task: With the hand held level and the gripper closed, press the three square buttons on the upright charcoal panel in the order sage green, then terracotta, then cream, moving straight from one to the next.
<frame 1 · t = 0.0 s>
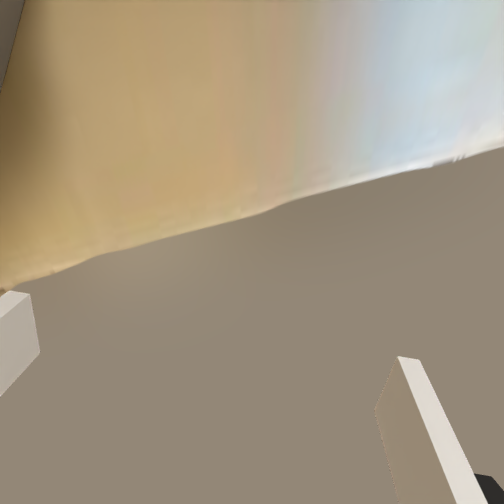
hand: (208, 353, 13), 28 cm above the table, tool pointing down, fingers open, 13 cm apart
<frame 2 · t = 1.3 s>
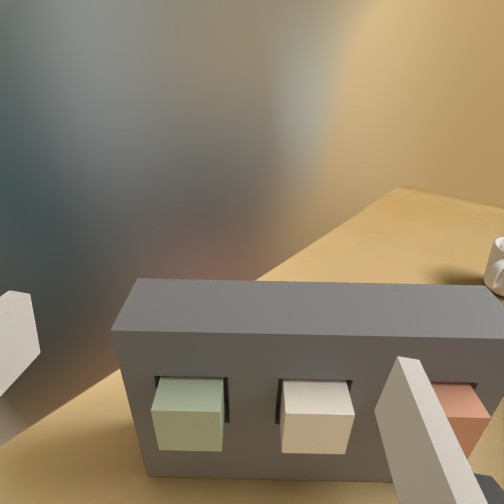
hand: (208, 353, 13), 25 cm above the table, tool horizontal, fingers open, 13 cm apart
terracotta button: (429, 403, 27), point 11 cm above the table, slide at 0.0 cm
cream button: (311, 400, 27), point 11 cm above the table, slide at 0.0 cm
cup: (498, 292, 58), on the table
button panel: (297, 458, 34), on the table
sage green button: (194, 397, 27), point 11 cm above the table, slide at 0.0 cm
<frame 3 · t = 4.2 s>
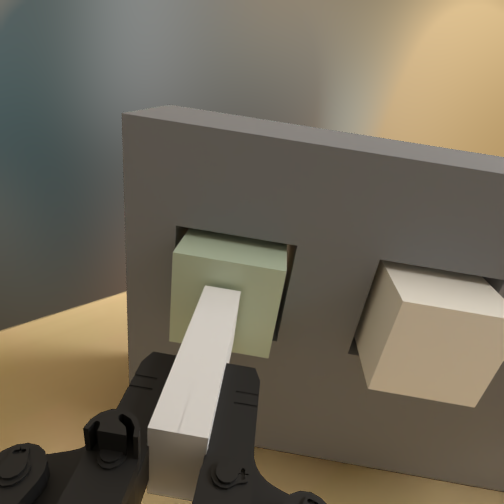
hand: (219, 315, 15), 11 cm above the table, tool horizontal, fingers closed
cream button: (418, 316, 16), point 11 cm above the table, slide at 0.0 cm
button panel: (351, 435, 23), on the table
sage green button: (232, 276, 17), point 11 cm above the table, slide at 0.8 cm, touching gripper
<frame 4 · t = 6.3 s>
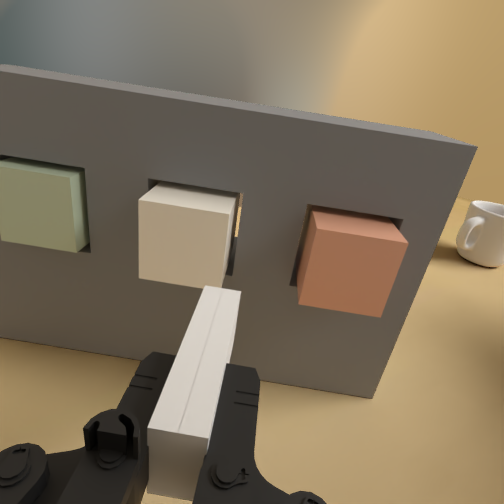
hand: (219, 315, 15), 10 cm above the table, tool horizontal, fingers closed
terracotta button: (342, 252, 21), point 11 cm above the table, slide at 0.0 cm
cream button: (193, 228, 21), point 11 cm above the table, slide at 0.0 cm
cup: (471, 261, 52), on the table
button panel: (189, 348, 27), on the table
sage green button: (61, 196, 22), point 11 cm above the table, slide at 1.6 cm
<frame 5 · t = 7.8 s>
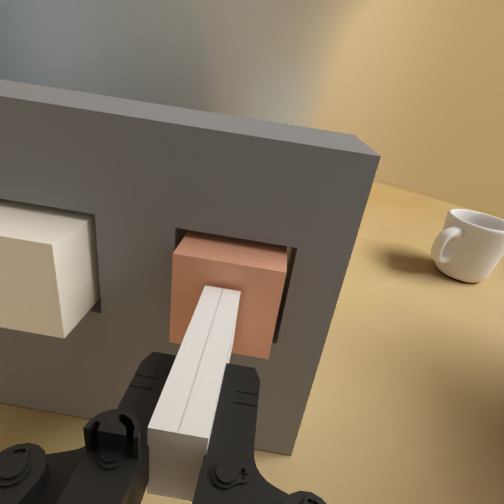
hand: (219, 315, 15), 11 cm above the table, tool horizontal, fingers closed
terracotta button: (232, 277, 17), point 11 cm above the table, slide at 0.9 cm, touching gripper
cream button: (46, 255, 17), point 11 cm above the table, slide at 0.0 cm
cup: (450, 275, 47), on the table
button panel: (83, 389, 23), on the table
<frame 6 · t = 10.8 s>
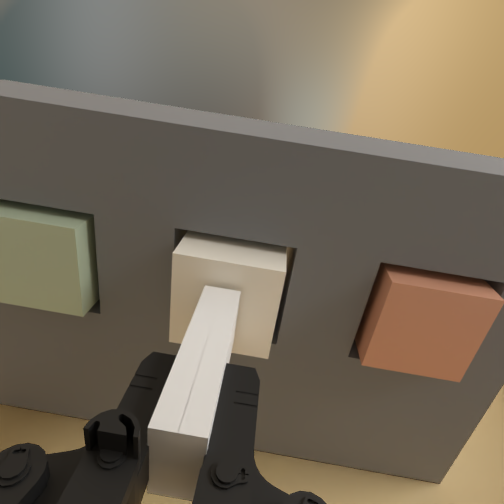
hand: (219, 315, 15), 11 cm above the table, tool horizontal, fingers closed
terracotta button: (408, 300, 18), point 11 cm above the table, slide at 1.6 cm
cream button: (232, 277, 17), point 11 cm above the table, slide at 1.0 cm, touching gripper
button panel: (215, 413, 23), on the table
sage green button: (64, 242, 18), point 11 cm above the table, slide at 1.6 cm
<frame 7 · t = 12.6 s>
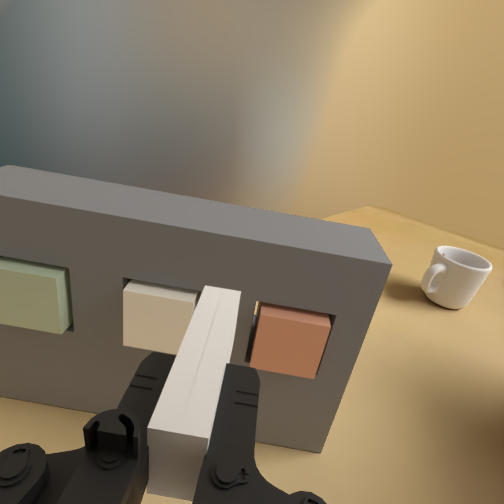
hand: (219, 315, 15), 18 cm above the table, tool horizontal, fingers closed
terracotta button: (287, 323, 26), point 11 cm above the table, slide at 1.6 cm
cream button: (168, 302, 26), point 11 cm above the table, slide at 1.6 cm
cup: (436, 302, 56), on the table
button panel: (162, 404, 31), on the table
sage green button: (49, 281, 26), point 11 cm above the table, slide at 1.6 cm
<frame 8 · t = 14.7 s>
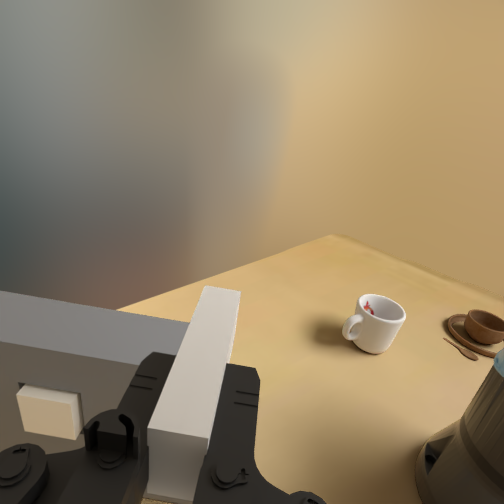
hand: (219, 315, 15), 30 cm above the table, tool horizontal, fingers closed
cream button: (65, 392, 32), point 11 cm above the table, slide at 1.6 cm
cup: (361, 345, 61), on the table
button panel: (76, 464, 37), on the table
place setting: (499, 354, 66), on the table
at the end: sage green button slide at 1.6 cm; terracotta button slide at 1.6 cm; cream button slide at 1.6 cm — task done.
